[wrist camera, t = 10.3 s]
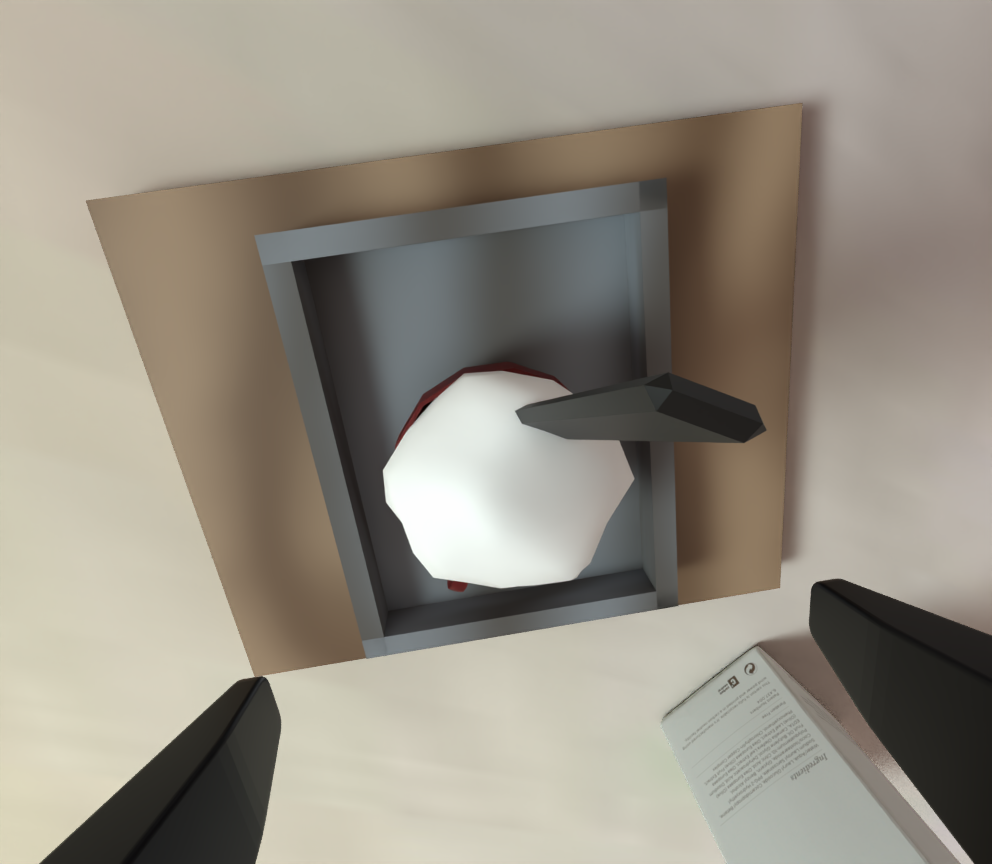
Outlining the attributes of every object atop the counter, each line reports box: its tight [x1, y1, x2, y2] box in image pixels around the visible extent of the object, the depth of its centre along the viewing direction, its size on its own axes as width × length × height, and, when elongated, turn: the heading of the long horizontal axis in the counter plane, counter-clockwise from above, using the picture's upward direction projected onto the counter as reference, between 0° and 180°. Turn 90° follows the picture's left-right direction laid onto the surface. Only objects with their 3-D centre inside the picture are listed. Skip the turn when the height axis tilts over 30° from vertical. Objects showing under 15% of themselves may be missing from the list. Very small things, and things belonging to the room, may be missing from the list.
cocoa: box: [383, 362, 767, 592], centre depth 14 cm, size 10×6×12 cm, turn 138°
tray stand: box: [86, 103, 802, 677], centre depth 19 cm, size 22×18×4 cm
